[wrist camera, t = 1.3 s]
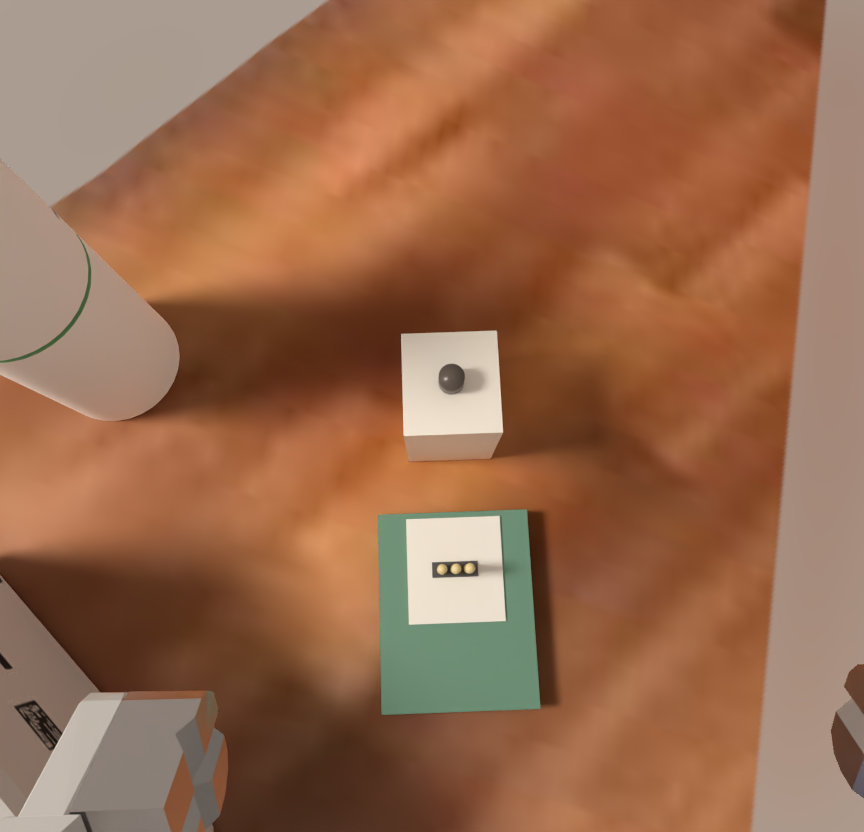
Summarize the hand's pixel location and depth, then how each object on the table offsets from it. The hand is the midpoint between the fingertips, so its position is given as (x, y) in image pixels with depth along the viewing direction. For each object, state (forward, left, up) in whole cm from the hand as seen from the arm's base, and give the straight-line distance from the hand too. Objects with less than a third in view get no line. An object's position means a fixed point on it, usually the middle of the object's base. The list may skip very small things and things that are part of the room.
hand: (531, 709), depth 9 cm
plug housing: (+11, 0, -29) cm, 31 cm away
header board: (0, 0, -29) cm, 29 cm away
